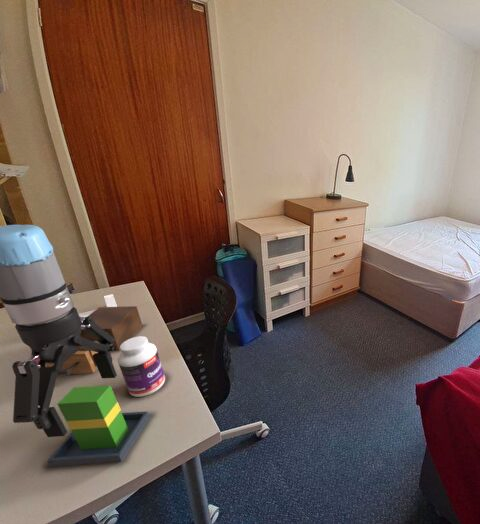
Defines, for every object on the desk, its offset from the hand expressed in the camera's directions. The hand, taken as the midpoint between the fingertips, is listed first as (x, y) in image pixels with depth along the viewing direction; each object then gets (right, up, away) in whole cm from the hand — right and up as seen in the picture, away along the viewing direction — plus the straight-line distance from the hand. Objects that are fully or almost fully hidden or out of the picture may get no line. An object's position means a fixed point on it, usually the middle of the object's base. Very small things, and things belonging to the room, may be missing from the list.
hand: (86, 402), depth 57 cm
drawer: (-23, -1, +24) cm, 33 cm away
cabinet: (-24, +3, +35) cm, 43 cm away
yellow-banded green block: (0, -10, +4) cm, 11 cm away
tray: (0, -11, +4) cm, 12 cm away
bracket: (-39, +8, +45) cm, 60 cm away
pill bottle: (-1, -5, +18) cm, 19 cm away
